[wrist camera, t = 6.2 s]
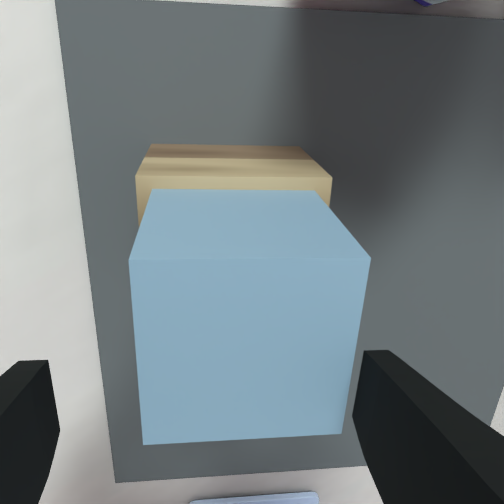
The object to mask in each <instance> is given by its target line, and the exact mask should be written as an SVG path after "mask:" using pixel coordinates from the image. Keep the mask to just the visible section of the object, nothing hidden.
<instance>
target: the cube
mask: <svg viewBox="0 0 504 504" xmlns="http://www.w3.org/2000/svg"><path fill="white" fill-rule="evenodd" d="M370 261H371V257H370V256H369V255H368V254H367V252H366V251H365V250H364V249H363V248H362V246H361V245H360V244H359V243H358V242H357V240H356V239H355V238H354V237H353V236H352V234H351V233H350V232H349V231H348V230H347V229H346V227H345V226H344V225H343V224H342V223H341V221H340V220H339V219H338V218H337V217H336V215H335V214H334V213H333V212H332V211H331V209H330V208H329V207H328V206H327V205H326V203H325V202H324V201H323V200H322V199H321V197H320V196H319V195H318V194H317V193H316V191H315V190H217V189H152V191H151V194H150V197H149V200H148V203H147V206H146V209H145V212H144V215H143V218H142V221H141V224H140V227H139V230H138V233H137V236H136V239H135V242H134V245H133V248H132V251H131V254H130V257H129V273H130V285H131V298H132V311H133V323H134V336H135V349H136V361H137V374H138V387H139V399H140V412H141V425H142V437H143V445H152V444H170V443H188V442H205V441H223V440H241V439H258V438H276V437H294V436H311V435H329V434H342V428H343V422H344V416H345V410H346V404H347V398H348V392H349V386H350V380H351V374H352V368H353V362H354V356H355V350H356V344H357V338H358V332H359V327H360V321H361V315H362V309H363V303H364V297H365V291H366V285H367V279H368V273H369V267H370Z"/></svg>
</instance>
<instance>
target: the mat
mask: <svg viewBox="0 0 504 504" xmlns="http://www.w3.org/2000/svg"><path fill="white" fill-rule="evenodd" d="M55 6H56V14H57V21H58V29H59V37H60V45H61V53H62V61H63V69H64V77H65V85H66V93H67V101H68V109H69V117H70V125H71V133H72V141H73V149H74V157H75V165H76V173H77V181H78V189H79V197H80V204H81V212H82V220H83V228H84V236H85V244H86V252H87V260H88V268H89V276H90V284H91V292H92V300H93V308H94V316H95V324H96V332H97V340H98V348H99V356H100V364H101V372H102V379H103V387H104V395H105V403H106V411H107V419H108V427H109V435H110V443H111V451H112V459H113V467H114V475H115V483H122V482H137V481H151V480H166V479H180V478H195V477H209V476H224V475H238V474H253V473H267V472H282V471H296V470H311V469H325V468H340V467H354V466H367V463H366V461H365V459H364V456H363V453H362V449H361V446H360V443H359V440H358V436H357V432H356V429H355V425H354V422H353V418H352V413H353V407H354V402H355V396H356V391H357V385H358V380H359V374H360V369H361V363H362V358H363V352H364V350H389V351H391V352H392V353H394V354H395V355H396V356H398V357H399V358H400V359H402V360H403V361H404V362H406V363H407V364H408V365H409V366H411V367H412V368H413V369H414V370H416V371H417V372H418V373H419V374H421V375H422V376H423V377H425V378H426V379H427V380H428V381H430V382H431V383H432V384H433V385H435V386H436V387H437V388H439V389H440V390H441V391H442V392H444V393H445V394H446V395H448V396H449V397H450V398H451V399H453V400H454V401H455V402H457V403H458V404H459V405H461V406H462V407H463V408H465V409H466V410H467V411H469V412H470V413H471V414H473V415H474V416H476V417H477V418H478V419H480V420H481V421H482V422H484V423H485V424H487V425H488V426H490V424H491V421H492V419H493V416H494V413H495V410H496V407H497V404H498V401H499V398H500V395H501V392H502V389H503V386H504V19H486V18H468V17H449V16H431V15H412V14H394V13H376V12H357V11H339V10H321V9H302V8H284V7H266V6H247V5H229V4H210V3H192V2H174V1H155V0H55ZM151 144H197V145H254V146H300V147H301V148H302V149H303V150H304V151H305V152H306V153H307V154H308V155H309V156H310V157H311V158H312V159H313V160H314V161H315V162H317V163H318V164H319V165H320V166H321V167H322V168H323V169H324V170H325V171H326V172H327V173H328V174H329V175H330V176H331V177H332V187H331V195H330V204H329V208H330V209H331V211H332V212H333V213H334V214H335V215H336V217H337V218H338V219H339V220H340V221H341V223H342V224H343V225H344V226H345V227H346V229H347V230H348V231H349V232H350V233H351V234H352V236H353V237H354V238H355V239H356V240H357V242H358V243H359V244H360V245H361V246H362V248H363V249H364V250H365V251H366V252H367V254H368V255H369V256H370V257H371V261H370V267H369V273H368V279H367V285H366V291H365V297H364V303H363V309H362V315H361V321H360V327H359V332H358V338H357V344H356V350H355V356H354V362H353V368H352V374H351V380H350V386H349V392H348V398H347V404H346V410H345V416H344V422H343V428H342V434H329V435H311V436H294V437H276V438H258V439H241V440H223V441H205V442H188V443H170V444H152V445H143V437H142V425H141V412H140V399H139V387H138V374H137V361H136V349H135V336H134V323H133V311H132V298H131V285H130V273H129V257H130V254H131V251H132V248H133V245H134V242H135V239H136V236H137V233H138V230H139V224H138V209H137V195H136V181H135V175H136V173H137V171H138V169H139V167H140V165H141V163H142V161H143V159H144V157H145V155H146V153H147V151H148V149H149V147H150V145H151Z"/></svg>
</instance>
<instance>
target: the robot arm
mask: <svg viewBox="0 0 504 504" xmlns="http://www.w3.org/2000/svg"><path fill="white" fill-rule="evenodd" d="M352 418H353V422H354V425H355V429H356V432H357V436H358V440H359V443H360V446H361V449H362V453H363V456H364V459H365V461H366V463H367V466H368V468H369V471H370V473H371V475H372V478H373V480H374V482H375V485H376V487H377V489H378V492H379V494H380V496H381V499H382V501H383V503H384V504H504V436H503V435H501V434H500V433H498V432H497V431H495V430H494V429H492V428H491V427H490V426H488V425H487V424H485V423H484V422H482V421H481V420H480V419H478V418H477V417H476V416H474V415H473V414H471V413H470V412H469V411H467V410H466V409H465V408H463V407H462V406H461V405H459V404H458V403H457V402H455V401H454V400H453V399H451V398H450V397H449V396H448V395H446V394H445V393H444V392H442V391H441V390H440V389H439V388H437V387H436V386H435V385H433V384H432V383H431V382H430V381H428V380H427V379H426V378H425V377H423V376H422V375H421V374H419V373H418V372H417V371H416V370H414V369H413V368H412V367H411V366H409V365H408V364H407V363H406V362H404V361H403V360H402V359H400V358H399V357H398V356H396V355H395V354H394V353H392V352H391V351H389V350H364V352H363V358H362V363H361V369H360V374H359V380H358V385H357V391H356V396H355V402H354V407H353V413H352ZM59 433H60V426H59V421H58V415H57V409H56V403H55V397H54V392H53V386H52V380H51V374H50V368H49V363H48V360H30V361H18V362H17V363H16V364H14V365H13V366H12V367H11V368H10V369H8V370H7V371H6V372H5V373H4V374H2V375H1V376H0V504H38V503H39V500H40V497H41V495H42V492H43V490H44V487H45V484H46V482H47V479H48V476H49V472H50V469H51V465H52V461H53V458H54V454H55V450H56V445H57V441H58V437H59ZM189 504H319V497H318V494H317V493H315V492H298V493H284V494H271V495H258V496H244V497H231V498H218V499H204V500H194V501H192V502H190V503H189Z"/></svg>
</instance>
